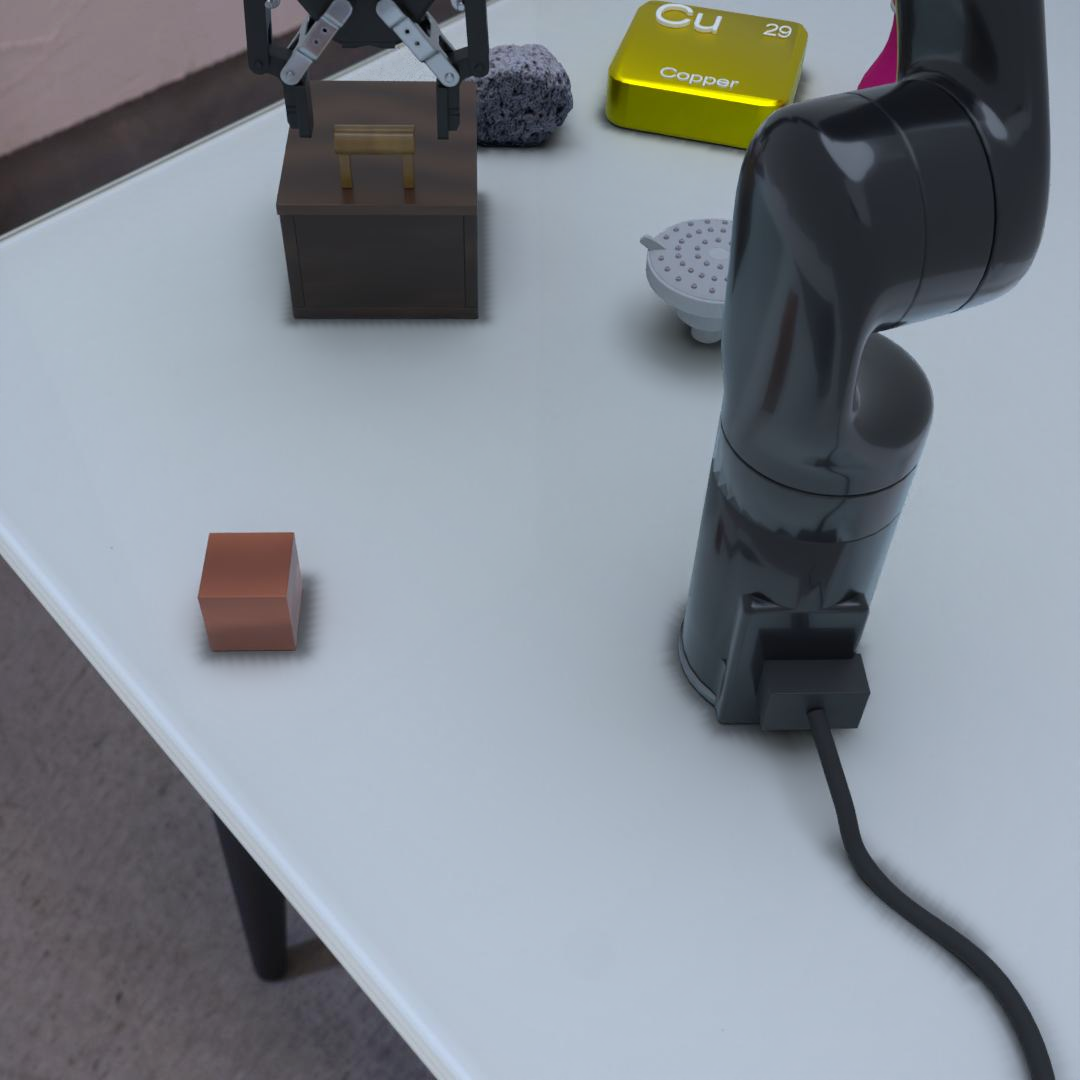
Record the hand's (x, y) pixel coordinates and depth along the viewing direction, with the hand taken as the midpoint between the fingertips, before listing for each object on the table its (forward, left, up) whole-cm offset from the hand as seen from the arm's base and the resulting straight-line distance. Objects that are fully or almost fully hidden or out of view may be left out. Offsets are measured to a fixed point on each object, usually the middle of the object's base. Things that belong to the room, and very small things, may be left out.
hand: (375, 132), depth 82 cm
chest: (+6, 0, -14) cm, 15 cm away
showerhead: (-3, -22, -14) cm, 26 cm away
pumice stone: (+24, -10, -14) cm, 29 cm away
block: (-28, +6, -14) cm, 32 cm away
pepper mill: (+20, -40, -14) cm, 47 cm away
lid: (+5, 0, -5) cm, 7 cm away
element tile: (+29, -26, -14) cm, 41 cm away
